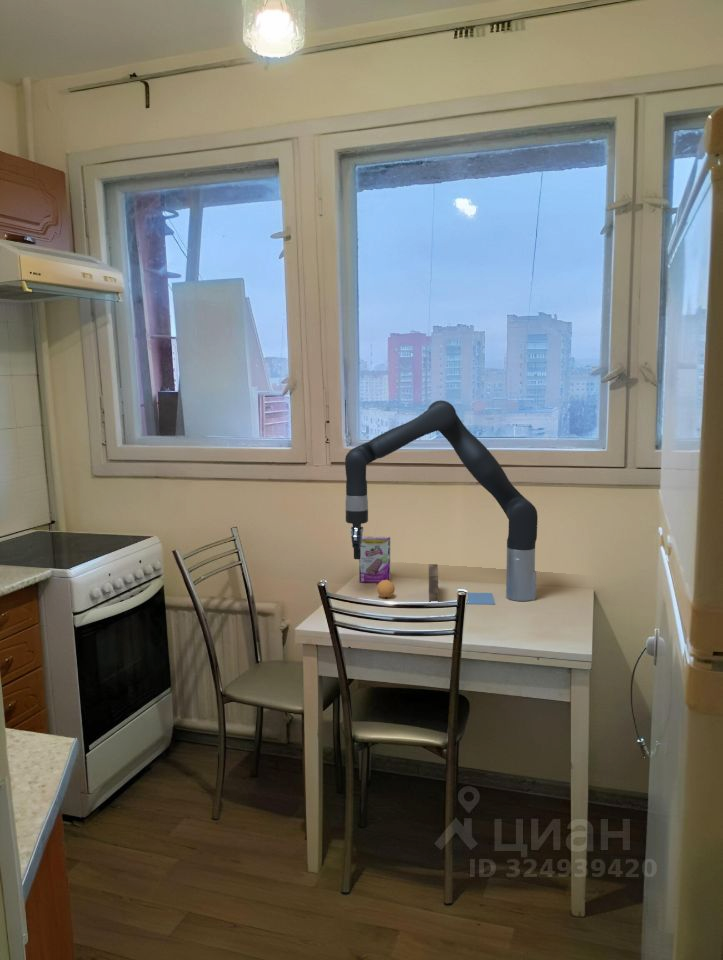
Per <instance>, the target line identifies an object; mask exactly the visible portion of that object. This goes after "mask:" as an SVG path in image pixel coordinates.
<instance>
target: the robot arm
mask: <svg viewBox="0 0 723 960" xmlns="http://www.w3.org/2000/svg"><path fill="white" fill-rule="evenodd" d="M437 431H438V432H439V433H440V434H441V435H442V436H443V437H444V439H446V440H447V441H448V442H449V444H450V445H451V446H452V449H453V450H454V452H455V453H456V455H457V457H458V458H459V459H460V461H461V462H462V464H463V466H464V467H465V468H466V470H467V471H468V472H469V473H470V474H471V476H472V477H473V478H474V479H475V480H476V481H477V482H478V483H479V484H480V485H481V486H482V487H483V488H484V490H486V491H487V492H488V493H489V494H490V495H491V496H492V497H493V498H494V499H495V501H496V502H497V503H498V505H499V507H500V508H501V509H502V511H503V512H504V514H505V515H506V518H507V519H508V533H507V539H506V572H505V573H506V574H505V575H506V577H505V579H506V581H505V583H506V584H505V587H506V588H505V596H506V598H507V599H508V600H511V601H517V602H529V601H535V600H536V592H537V591H536V589H537V588H536V583H537V572H536V568H535V567H536V541H537V539H538V538H537V537H538V510H537V508H536V506H535V505H534V504H533V503H532V502H531V501H530V500H529V499H527V498H526V497H525V496H523V494H522V493H521V492H520V491H519V490H518V489H517V488H516V487H515V486H514V485H513V484H512V483H511V481H510V480H509V478H508V476H507V474H506V473H505V470H504V469H503V468H502V466H501V464H500V463H499V462H498V460H497V459H496V458H495V456H494V455H493V454H492V453H491V452H490V450H489V449H488V448H487V446H485V444H483V443H482V442H481V441H480V440H479V439H478V438H477V437H476V436H475V435H474V434H473V433H471V432H470V430H468V429H467V427H466V426H465V424H464V423H463V421H462V420H461V418H460V417H459V415H458V414H457V412H456V409H455V407H454V405H453V404H451V403H450V402H448V401H446V400H436V401H434V402H432V403H431V404H430V405H429V406H428V408H427V410H425V411H424V412H423V413H422V414H421V413H420V415H419V416H417V417H415V418H413V419H412V420H409V421H407V422H406V423H403V424H401V425H398V426H396V427H393V428H391V429H389V430H387V431H385V432H382V433H381V434H379V435H377V436H375V437H373V438H372V439H370V440H368V441H366V442H364V443H362V444H360V445H358V446H357V445H356V446H355V447H353V448H352V449H350V450H348V452H347V454H346V455H345V458H344V459H345V460H344V464H345V465H344V466H345V467H344V468H345V469H344V470H345V477H346V481H345V482H346V483H345V485H346V486H345V489H346V490H345V522H346V523H347V524H352V526H351V528H350V535H351V536H350V539H351V546H352V549H353V559H354V560H359V559H360V558H361V543H362V539H363V537H364V535H363V532H364V526H362V524H367V523H368V522H369V500H368V499H369V498H368V480H367V465H369V464H371V463H372V462H374V461H376V460H377V459H378V460H379V459H382V458H384V457H386V456H388V455H390V454H392V453H394V452H396V451H397V450H399V449H402V448H403V447H405V446H407V445H408V444H410V443H412V442H414V441H416V440H417V439H420V438H421V437H422V438H423V437H424V436H426V435H429V434H431V433H435V432H437Z"/></svg>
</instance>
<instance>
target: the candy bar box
mask: <svg viewBox="0 0 723 960" xmlns="http://www.w3.org/2000/svg"><path fill="white" fill-rule="evenodd" d="M358 561H359V566H358V567H359V570H358V571H359V574H358V575H359V576H358V577H359V583H364V584H366V583H367V584H373V583H374V584H379V583H380V582H381V581H383V580H389V581H391V537H390V536H363V539H362V543H361V558H360V559H358Z"/></svg>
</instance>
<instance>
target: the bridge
mask: <svg viewBox="0 0 723 960" xmlns="http://www.w3.org/2000/svg"><path fill="white" fill-rule="evenodd" d="M438 567H439V565H438V564H437V563H435V564H433V563H432V564H431V563H430V564H428V603H429V602H431V601H438V602H439V568H438Z"/></svg>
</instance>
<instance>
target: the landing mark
mask: <svg viewBox="0 0 723 960" xmlns="http://www.w3.org/2000/svg"><path fill="white" fill-rule="evenodd" d="M467 593H468V599H467V604H466V605H496V602H495V599H494V596H493V593H492V592H467ZM468 601H469V602H468Z"/></svg>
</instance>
